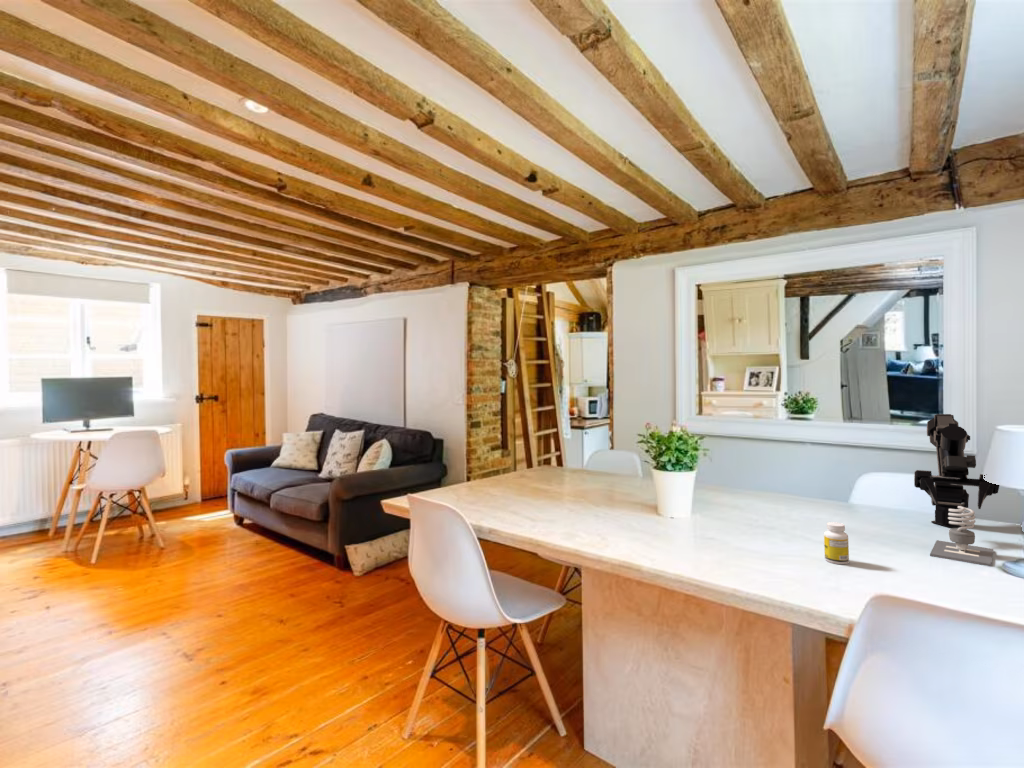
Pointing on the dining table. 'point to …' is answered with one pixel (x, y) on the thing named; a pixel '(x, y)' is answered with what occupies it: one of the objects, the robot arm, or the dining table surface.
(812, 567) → the dining table surface
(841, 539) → the supplement bottle
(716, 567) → the dining table surface
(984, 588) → the dining table surface
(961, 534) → the light bulb
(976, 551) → the board
